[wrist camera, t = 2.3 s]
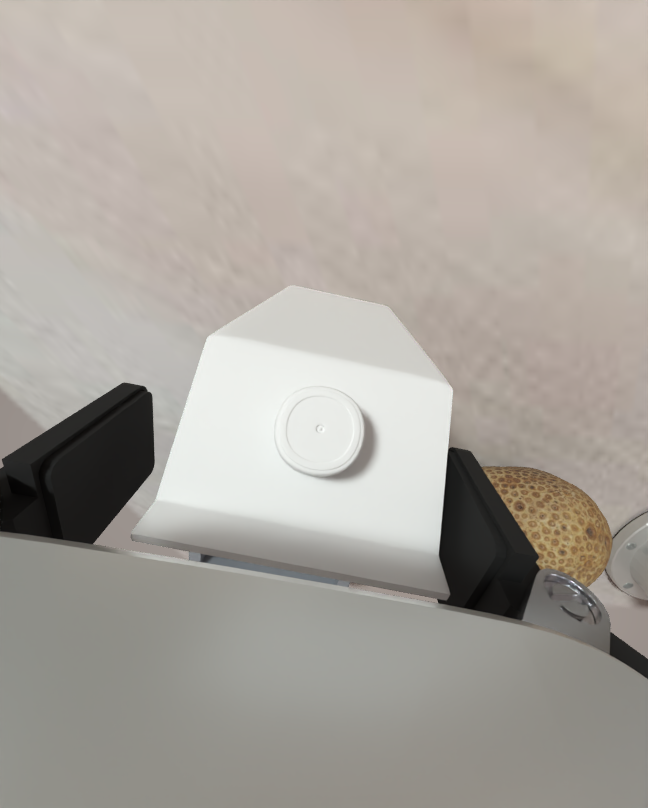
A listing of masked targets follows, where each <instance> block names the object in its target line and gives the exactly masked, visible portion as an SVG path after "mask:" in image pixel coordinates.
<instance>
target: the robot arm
mask: <svg viewBox="0 0 648 808" xmlns="http://www.w3.org/2000/svg"><path fill="white" fill-rule="evenodd" d="M2 462H3V465H4V467H2V468H1V469H0V808H648V659H647V658H646V657H644V656H643V655H641V654H640V653H639V652H637V651H636V650H634V649H633V648H632V647H630V646H629V645H628V644H626V643H625V642H624V641H622V640H621V639H619V638H618V637H617V636H615V635H614V634H613V633H611V632H610V626H611V624H610V619H609V615H608V613H607V611H606V609H605V607H604V605H603V604H602V603H601V602H600V600H599V599H598V598H597V597H596V596H595V595H594V594H593V593H592V592H591V591H590V590H589V589H588V588H587V587H586V586H585V585H583V584H582V583H580V582H579V581H578V580H576V579H575V578H573V577H571V576H569V575H568V574H566V573H564V572H561V571H558V570H555V569H547V568H546V569H542V570H540V568H539V566H538V565H537V563H536V561H537V560H538V559H539V555H538V554H537V552H536V551H535V549H534V548H533V546H532V545H531V543H530V542H529V540H528V538H527V537H526V535H525V534H524V532H523V531H522V529H521V528H520V526H519V525H518V523H517V522H516V520H515V518H514V517H513V515H512V514H511V512H510V511H509V509H508V508H507V506H506V505H505V503H504V502H503V500H502V499H501V497H500V495H499V494H498V492H497V491H496V489H495V488H494V486H493V485H492V483H491V482H490V480H489V479H488V477H487V475H486V474H485V472H484V471H483V469H482V468H481V466H480V465H479V463H478V462H477V460H476V459H475V457H474V455H473V454H472V453H471V452H470V451H468V450H463V449H458V448H453V447H452V448H450V449H449V450H448V455H447V466H446V478H445V489H444V500H443V512H442V523H441V535H440V546H439V558H440V562H441V565H442V568H443V571H444V574H445V578H446V581H447V584H448V588H449V591H450V596H449V598H448V599H447V600H441V599H437V600H438V603H434V602H429V601H423V600H417V599H412V598H406V597H400V596H395V595H389V594H383V593H378V592H372V591H366V590H361V589H355V588H349V587H344V586H338V585H332V584H327V583H321V582H315V581H309V580H303V579H297V578H292V577H286V576H280V575H274V574H268V573H262V572H257V571H251V570H245V569H239V568H233V567H227V566H221V565H215V564H209V563H203V562H197V561H191V560H185V559H179V558H173V557H166V556H161V555H155V554H149V553H143V552H136V551H131V550H124V549H118V548H112V547H106V546H100V545H94V544H93V543H94V542H95V541H96V539H97V538H98V537H99V536H100V535H101V533H102V532H103V531H104V530H105V528H106V527H107V526H108V525H109V524H110V523H111V521H112V520H113V519H114V518H115V516H116V515H117V514H118V513H119V512H120V510H121V509H122V508H123V507H124V506H125V504H126V503H127V502H128V501H129V500H130V498H131V497H132V496H133V495H134V493H135V492H136V491H137V490H138V489H139V487H140V486H141V485H142V484H143V483H144V481H145V480H146V479H147V478H148V476H149V475H150V474H151V472H152V470H153V468H154V463H155V460H154V431H153V403H152V394H151V393H150V392H147V389H146V387H144V386H140V385H135V384H130V383H122V384H120V385H119V386H117V387H116V388H114V389H112V390H111V391H109V392H108V393H106V394H104V395H103V396H101V397H100V398H98V399H97V400H95V401H93V402H92V403H90V404H89V405H87V406H85V407H84V408H82V409H81V410H79V411H78V412H76V413H74V414H73V415H71V416H70V417H68V418H66V419H65V420H63V421H62V422H60V423H59V424H57V425H55V426H54V427H52V428H51V429H49V430H48V431H46V432H44V433H43V434H41V435H40V436H38V437H36V438H35V439H33V440H32V441H30V442H29V443H27V444H25V445H24V446H22V447H21V448H19V449H18V450H16V451H14V452H13V453H11V454H10V455H8V456H6V457H5V458H3V459H2ZM612 541H613V543H612V550H611V554H610V558H609V561H608V563H607V566H606V571H607V574H608V575H609V577H610V578H611V579H612V581H613V582H614V583H615V584H616V585H617V587H618V588H619V589H620V590H622V591H623V592H625V593H627V594H628V595H630V596H633V597H636V598H638V599H643V600H648V512H647V513H644V514H643V515H641V516H640V517H638V518H636V519H635V520H633V521H632V522H630V523H629V524H628V525H627V526H625V527H624V528H623V529H622V530H621V531H620V532H619V533H618V534H617V535H616V536H615V537H614V539H613V540H612Z"/></svg>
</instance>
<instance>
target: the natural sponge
mask: <svg viewBox="0 0 648 808" xmlns="http://www.w3.org/2000/svg"><path fill="white" fill-rule="evenodd" d="M481 468H482V469H483V471H484V472H485V474H486V475H487V477H488V479H489V480H490V482H491V483H492V485H493V486H494V488H495V489H496V491H497V492H498V494H499V495H500V497H501V499H502V500H503V502H504V503H505V505H506V506H507V508H508V509H509V511H510V512H511V514H512V515H513V517H514V518H515V520H516V522H517V523H518V525H519V526H520V528H521V529H522V531H523V532H524V534H525V535H526V537H527V538H528V540H529V542H530V543H531V545H532V546H533V548H534V549H535V551H536V552H537V554H538V555H539V559H538V560H537V561H536V563H537V565H538V566H539V568H540V570H542V569H546V568H547V569H555V570H558V571H561V572H564V573H566V574H568V575H569V576H571V577H573V578H575V579H576V580H578V581H579V582H580V583H582V584H583V585H585V586H586V587H588V586H589V585H591V584H592V583H593V582H594V581H596V579H597V578H598V577H599V576H600V575H601V574H602V572H603V571H604V569H605V568H606V566H607V563H608V561H609V558H610V554H611V550H612V543H613V541H612V536H611V532H610V528H609V525H608V523H607V520H606V518H605V517H604V516H603V514H602V513H601V511H600V510H599V508H598V506H597V505H596V503H595V502H594V501H593V500H592V499H591V498H590V497H589V496H588V495H587V494H586V493H585V492H583V491H582V490H581V489H579V488H578V487H576V486H574V485H573V484H570V483H568V482H566V481H564V480H562V479H560V478H558V477H556V476H554V475H552V474H550V473H547V472H544V471H541V470H537V469H533V468H527V467H494V466H491V467H481Z"/></svg>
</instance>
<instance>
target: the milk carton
mask: <svg viewBox="0 0 648 808" xmlns="http://www.w3.org/2000/svg"><path fill="white" fill-rule="evenodd" d="M452 397H453V389H452V387H451V386H450V384H449V383H448V381H447V380H446V379H445V377H444V376H443V375H442V373H441V372H440V371H439V369H438V368H437V367H436V366H435V364H434V363H433V362H432V361H431V359H430V358H429V357H428V355H427V354H426V353H425V352H424V350H423V349H422V348H421V347H420V345H419V344H418V343H417V342H416V340H415V339H414V338H413V337H412V335H411V334H410V333H409V332H408V330H407V329H406V328H405V327H404V325H403V324H402V323H401V321H400V320H399V319H398V318H397V316H396V315H395V314H394V313H393V311H392V310H391V309H390V308H389V307H388V306H385V305H382V304H377V303H373V302H368V301H364V300H359V299H354V298H350V297H345V296H341V295H336V294H332V293H327V292H322V291H318V290H313V289H309V288H304V287H299V286H294V285H291V286H289V287H287V288H285V289H284V290H282V291H281V292H279V293H277V294H276V295H274V296H272V297H271V298H269V299H268V300H266V301H264V302H263V303H261V304H259V305H258V306H256V307H254V308H253V309H251V310H250V311H248V312H246V313H245V314H243V315H241V316H240V317H238V318H237V319H235V320H233V321H232V322H230V323H228V324H227V325H225V326H224V327H222V328H220V329H219V330H217V331H216V332H214V333H213V334H211V335H210V336H209V337H207V340H206V343H205V346H204V349H203V352H202V355H201V358H200V361H199V365H198V368H197V371H196V374H195V377H194V380H193V384H192V387H191V390H190V393H189V396H188V399H187V402H186V406H185V409H184V412H183V415H182V418H181V421H180V424H179V428H178V431H177V434H176V437H175V440H174V443H173V446H172V449H171V453H170V456H169V459H168V462H167V465H166V468H165V471H164V475H163V478H162V481H161V484H160V487H159V490H158V494H157V497H156V500H155V501H154V503H153V504H152V505H151V507H150V508H149V509H148V511H147V512H146V513H145V515H144V516H143V517H142V518H141V520H140V521H139V522H138V524H137V525H136V526H135V528H134V529H133V530H132V532H131V539H132V541H137V542H142V543H147V544H152V545H158V546H163V547H168V548H173V549H179V550H184V551H189V552H194V553H200V554H205V555H210V556H215V557H221V558H226V559H231V560H236V561H242V562H247V563H252V564H257V565H263V566H268V567H273V568H278V569H284V570H289V571H294V572H299V573H305V574H310V575H315V576H320V577H326V578H331V579H336V580H341V581H347V582H352V583H357V584H362V585H368V586H373V587H378V588H383V589H389V590H394V591H399V592H404V593H410V594H415V595H420V596H425V597H431V598H436V599H441V600H447V599H448V598H449V596H450V591H449V588H448V584H447V581H446V578H445V574H444V571H443V568H442V565H441V562H440V558H439V546H440V535H441V523H442V512H443V500H444V489H445V478H446V466H447V455H448V443H449V432H450V421H451V409H452Z"/></svg>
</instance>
